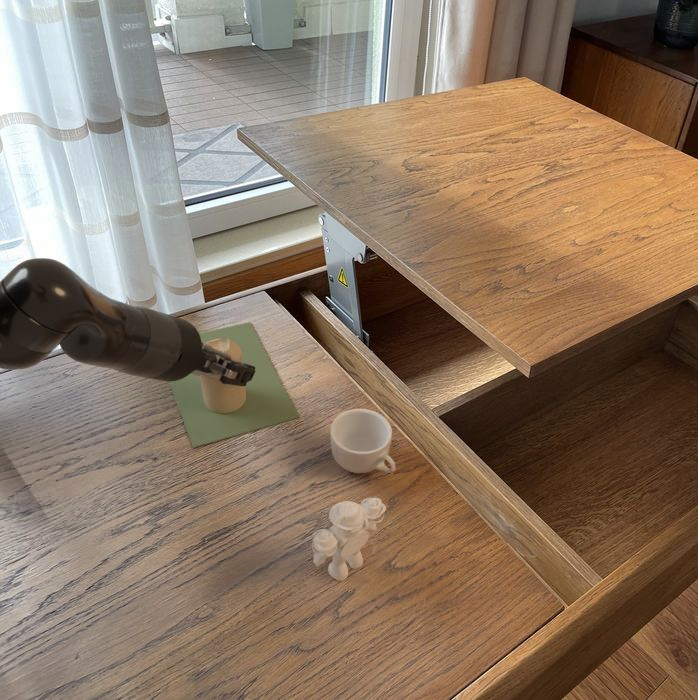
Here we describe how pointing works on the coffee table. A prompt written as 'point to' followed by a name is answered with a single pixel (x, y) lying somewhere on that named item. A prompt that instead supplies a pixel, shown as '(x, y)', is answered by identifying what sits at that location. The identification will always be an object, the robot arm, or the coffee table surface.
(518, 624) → the coffee table surface
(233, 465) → the coffee table surface
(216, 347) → the candle
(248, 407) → the desk mat
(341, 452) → the teacup
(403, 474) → the coffee table surface
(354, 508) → the hat wearing toy figure
